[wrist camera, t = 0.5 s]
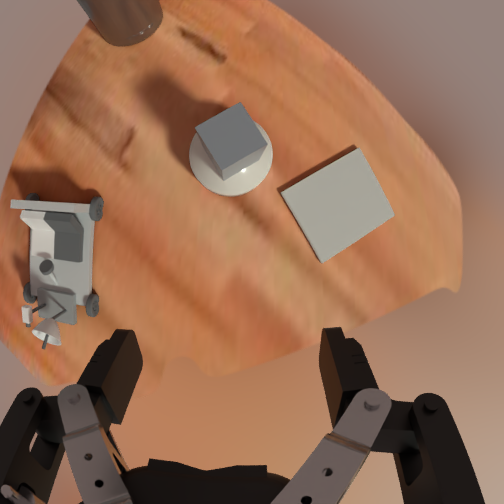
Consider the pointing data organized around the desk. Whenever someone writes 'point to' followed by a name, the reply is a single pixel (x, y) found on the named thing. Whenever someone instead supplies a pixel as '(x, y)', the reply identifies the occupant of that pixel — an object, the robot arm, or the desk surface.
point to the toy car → (59, 262)
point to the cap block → (231, 140)
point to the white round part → (237, 182)
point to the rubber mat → (338, 204)
